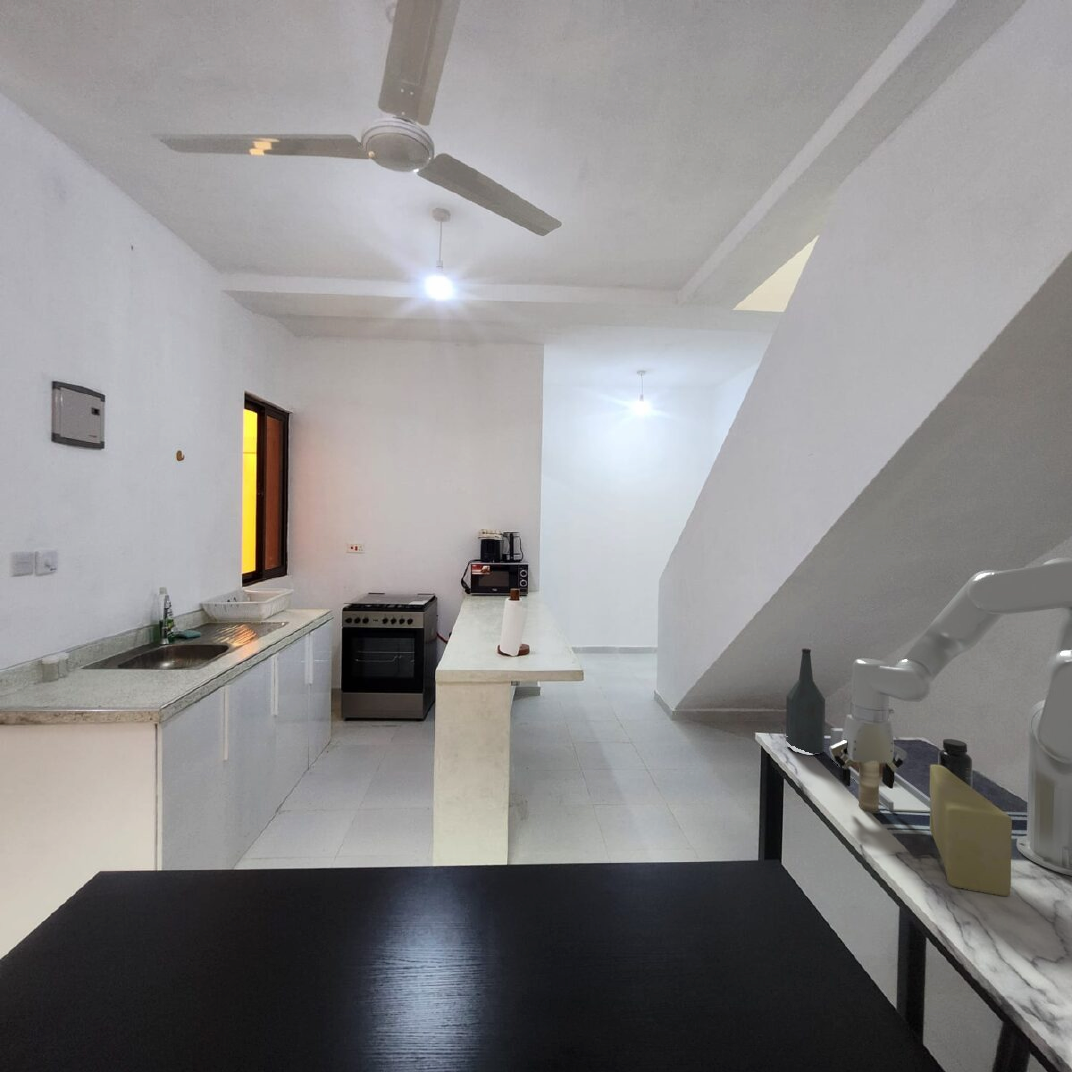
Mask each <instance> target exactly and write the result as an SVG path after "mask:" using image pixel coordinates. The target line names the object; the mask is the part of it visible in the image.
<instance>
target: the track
mask: <svg viewBox="0 0 1072 1072" xmlns="http://www.w3.org/2000/svg"><path fill="white" fill-rule="evenodd" d="M842 732H843V728H840V727H839V728H838V727H831V728H830V742H829V743H830V744H829V745H830V746H832V745H835V744H837V743H839V742H841V740H842ZM830 746H829V747H830ZM838 754H839V757H840V751H839V752H838ZM830 758H831V759H832V760H833V761H835V760H834V759H833V757H832V755H831V753H829V759H830ZM835 762H836V761H835ZM836 763H837V762H836ZM837 764H838V763H837ZM838 765H839V764H838ZM839 766H840V765H839ZM849 769H850V771H851V776H850V779H852V780H853V779H854V780H855V781H854V780H853V781H854V782H855V783H856V784H858V785H859V773H858V772H857V771H856V770H854V769H853V768H852V767H851V766H850V767H849ZM879 805H882V806H883V807H884V808H885V809H886V810H887V811H888V812H912V813H913V812H914V813H916V812H917V813H930V796H927V795H926V794H925V793H923V792H922V791H921V790H919V789H918V788H917V787H916V786H914V785H913V784H912V783H910V782H909V781H907V780H906V779H904V778H903V777H902V776H900V775H899V774H898V773H897V772H895V775H894V783H893V789H891V788H889V787H887V786H886V785H885V784H884V783H883V782H882V777H879Z"/></svg>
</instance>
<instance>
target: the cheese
mask: <svg viewBox="0 0 1072 1072" xmlns="http://www.w3.org/2000/svg"><path fill="white" fill-rule="evenodd" d="M929 798H930V812H929V831H930V833H931V835H932V838H933V841H934V842H935V846H936V848H937V850H938V854H939V855H940V858H941V860H942V864H943V867H944V871H945V875H946V880H947V883H948V884H949V885H950V886H952V887H954V888H958V889H961V888H964V889H963V890H967V889H968V890H967V891H972V890H973V892H978V891H980V892H979V893H983V892H984V893H983V894H989V895H994V894H995V895H994V896H1000V897H1001V896H1003V897H1007V896H1010V895H1011V886H1012V883H1011V882H1012V837H1013V836H1012V833H1013V832H1012V831H1013V830H1012V829H1013V828H1012V827H1013V823H1012V822H1013V820H1012V818H1011V816H1010V815H1009V814H1007V812H1005V811H1003V810H1002V809H1000V808H999V807H998V806H997V805H995V804H994V803H993V802H991V801H990V800H989V799H988V798H986V797H985V796H984V795H982V794H981V793H979V792H978V791H977V790H975V789H974V788H973V787H972V788H971V787H970V786H969V785H967V784H966V783H965V782H963V781H962V780H961V779H959V778H958V777H957V776H955V775H954V774H953V773H951V772H950V771H949V770H948V769H946V768H945V767H943V766H941V765H938V764H930V765H929Z"/></svg>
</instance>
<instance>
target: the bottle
mask: <svg viewBox="0 0 1072 1072" xmlns="http://www.w3.org/2000/svg"><path fill="white" fill-rule="evenodd" d="M811 652H812V650H811V649H810V648H802V649H801V661H800V668H799V669H800V670H799V677H798V680H797V681H796V683H795V684H794V685H793V687H792V688H791V689H790V691H789V693H788V694H787V695H786V707H785V708H786V712H785V713H786V714H785V715H786V716H785V718H786V719H785V720H786V721H785V725H786V726H785V727H786V728H785V742H786V741H787V742H788V743H789V744H790V745H791V746H795V747H796V748H798V749H801V750H804V751H805V752H809V753H813V754H815V753H821V754H822V753H823V752H824V750H825V737H826V736H825V726H826V725H825V724H826V699H825V698H824V696H823V694H822V693H821V691H820V690H819V688H818V686H817V685H816V683H815V682H814V679H813V676H814V675H813V669H812V659H811V658H812V657H811ZM786 736H788V737H786Z"/></svg>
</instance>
